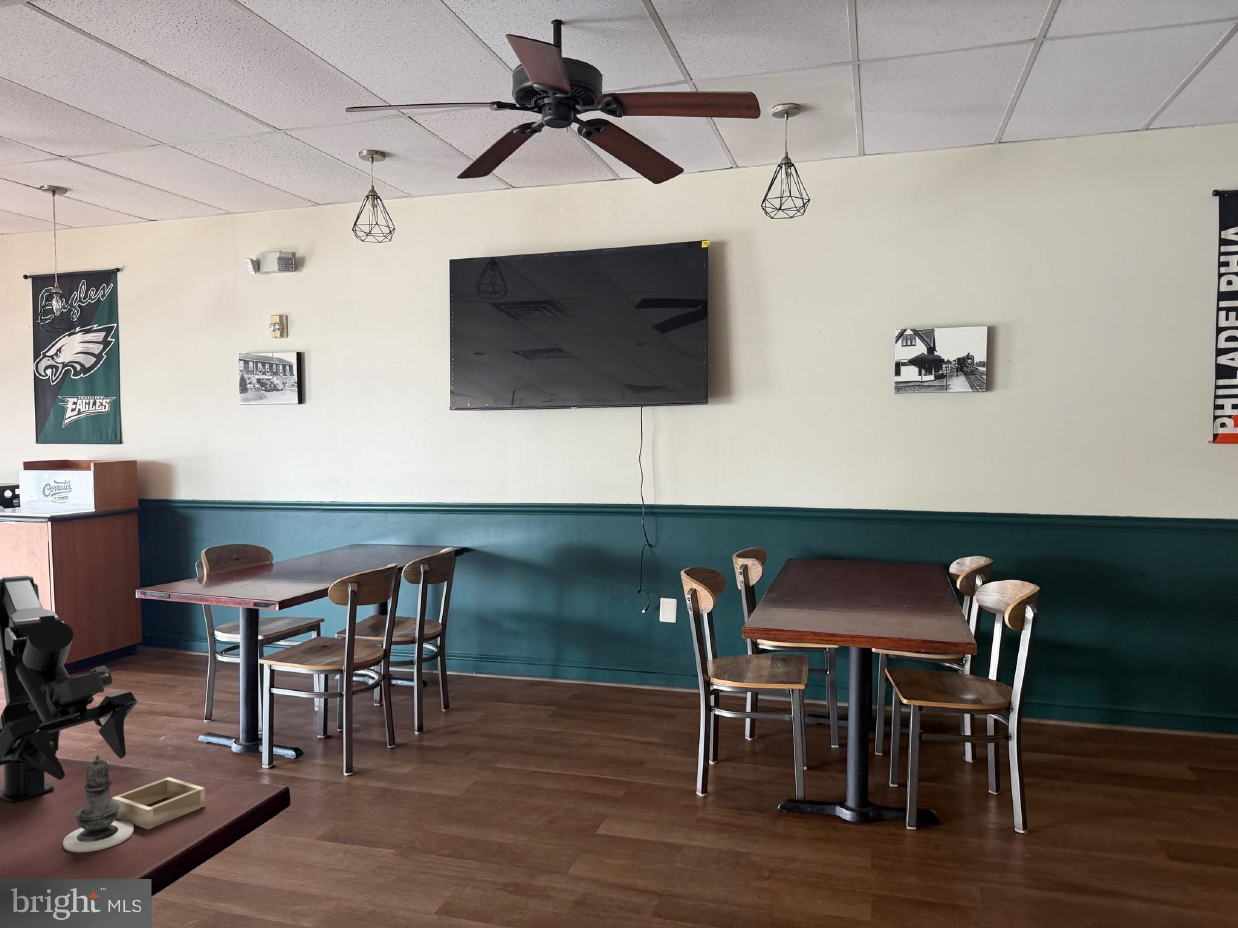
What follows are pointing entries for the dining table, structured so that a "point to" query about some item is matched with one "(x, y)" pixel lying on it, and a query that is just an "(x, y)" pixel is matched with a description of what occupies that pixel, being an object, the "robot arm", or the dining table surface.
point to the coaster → (77, 846)
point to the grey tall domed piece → (97, 805)
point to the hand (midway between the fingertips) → (94, 766)
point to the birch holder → (148, 817)
